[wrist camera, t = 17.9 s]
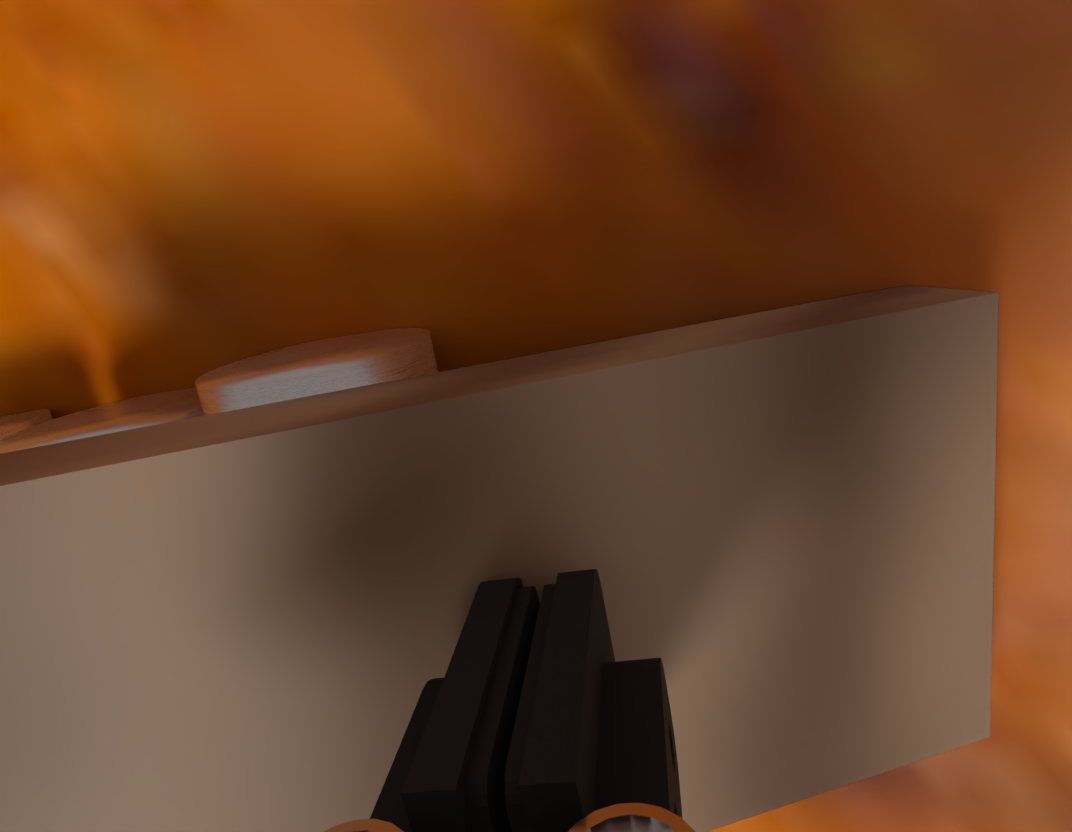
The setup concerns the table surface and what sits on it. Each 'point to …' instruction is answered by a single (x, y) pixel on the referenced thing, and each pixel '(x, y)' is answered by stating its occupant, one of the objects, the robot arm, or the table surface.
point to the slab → (514, 566)
